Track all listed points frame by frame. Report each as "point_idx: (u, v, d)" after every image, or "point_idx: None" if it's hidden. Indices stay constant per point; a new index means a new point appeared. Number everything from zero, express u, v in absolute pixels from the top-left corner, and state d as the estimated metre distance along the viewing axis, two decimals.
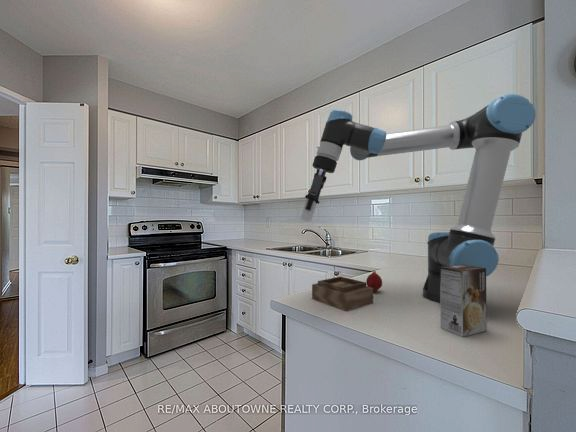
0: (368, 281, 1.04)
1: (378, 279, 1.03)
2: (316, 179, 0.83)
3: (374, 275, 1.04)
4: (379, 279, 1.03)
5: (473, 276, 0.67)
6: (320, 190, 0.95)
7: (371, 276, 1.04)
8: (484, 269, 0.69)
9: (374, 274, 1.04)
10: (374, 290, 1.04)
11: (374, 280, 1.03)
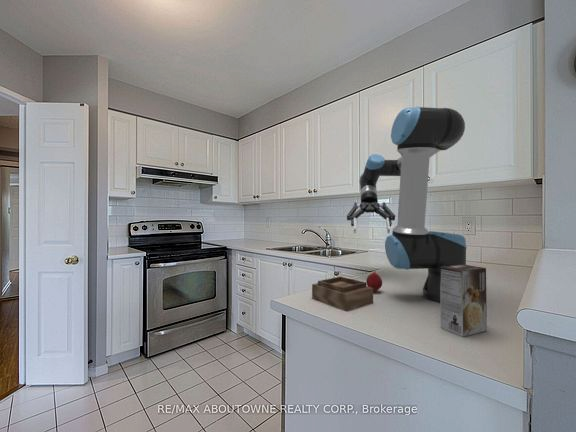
0: (368, 281, 1.04)
1: (378, 279, 1.03)
2: None
3: (374, 275, 1.04)
4: (379, 279, 1.03)
5: (473, 276, 0.67)
6: (381, 210, 1.21)
7: (371, 276, 1.04)
8: (484, 269, 0.69)
9: (374, 274, 1.04)
10: (374, 290, 1.04)
11: (374, 280, 1.03)
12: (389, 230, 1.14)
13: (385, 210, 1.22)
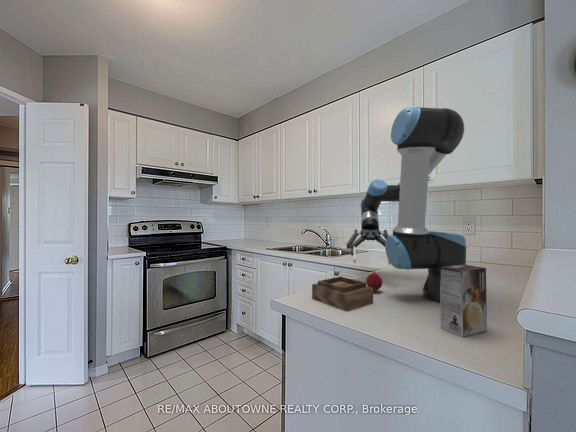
0: (368, 281, 1.04)
1: (378, 279, 1.03)
2: None
3: (374, 275, 1.04)
4: (379, 279, 1.03)
5: (473, 276, 0.67)
6: (382, 239, 1.17)
7: (371, 276, 1.04)
8: (484, 269, 0.69)
9: (374, 274, 1.04)
10: (374, 290, 1.04)
11: (374, 280, 1.03)
12: (390, 261, 1.09)
13: (386, 238, 1.18)
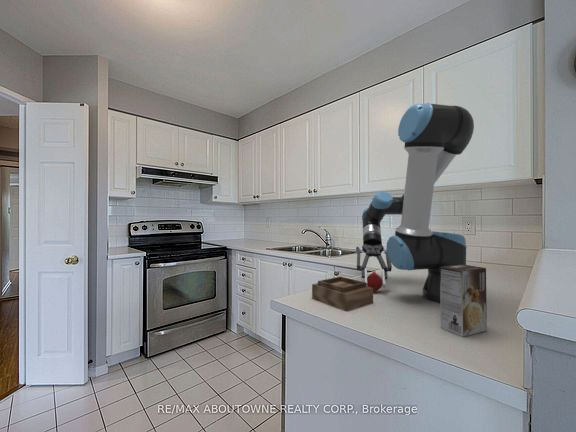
0: (368, 281, 1.04)
1: (378, 279, 1.03)
2: None
3: (374, 275, 1.04)
4: (379, 279, 1.03)
5: (473, 276, 0.67)
6: (381, 257, 1.08)
7: (371, 276, 1.04)
8: (484, 269, 0.69)
9: (374, 274, 1.04)
10: (374, 290, 1.04)
11: (374, 280, 1.03)
12: (384, 285, 1.01)
13: (386, 257, 1.10)
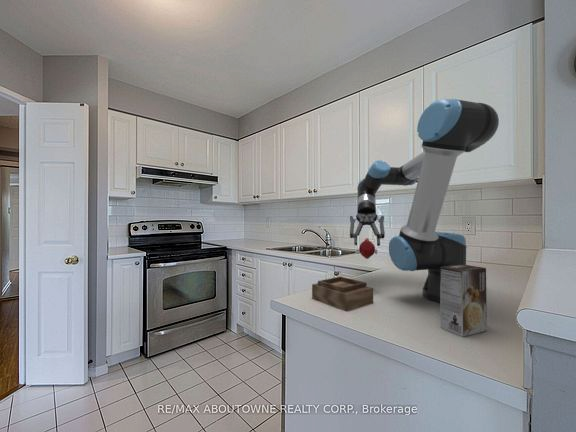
0: (361, 248, 1.04)
1: (370, 245, 1.03)
2: None
3: (367, 241, 1.04)
4: (371, 245, 1.03)
5: (473, 276, 0.67)
6: (374, 225, 1.08)
7: (363, 243, 1.04)
8: (484, 269, 0.69)
9: (366, 241, 1.04)
10: (367, 257, 1.04)
11: (366, 246, 1.03)
12: (376, 251, 1.00)
13: (380, 225, 1.09)
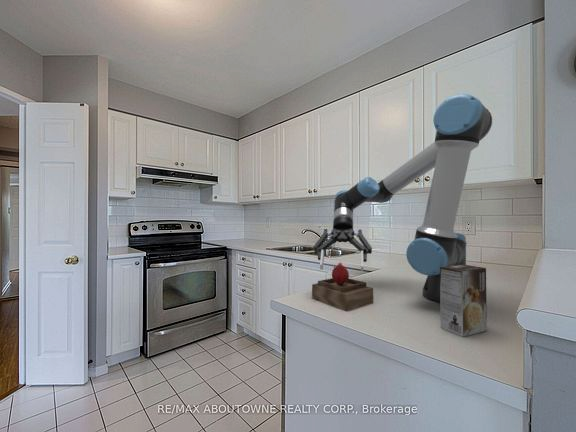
0: (333, 273, 0.94)
1: (344, 271, 0.93)
2: None
3: (340, 266, 0.94)
4: (345, 271, 0.93)
5: (473, 276, 0.67)
6: (355, 240, 0.98)
7: (336, 268, 0.94)
8: (484, 269, 0.69)
9: (339, 266, 0.94)
10: (340, 283, 0.94)
11: (339, 272, 0.93)
12: None
13: (361, 240, 0.99)
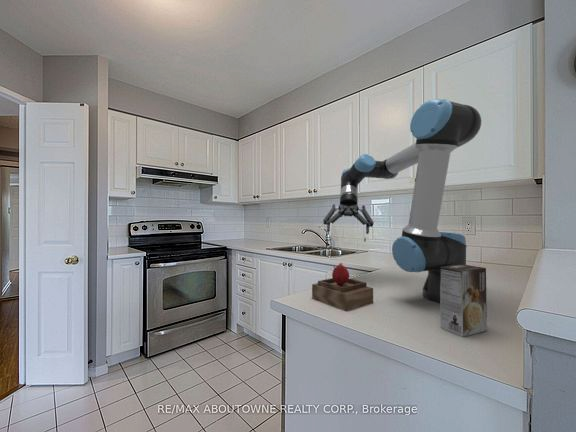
0: (333, 274, 0.94)
1: (344, 271, 0.93)
2: None
3: (340, 267, 0.94)
4: (345, 272, 0.93)
5: (473, 276, 0.67)
6: (359, 215, 1.14)
7: (337, 268, 0.94)
8: (484, 269, 0.69)
9: (340, 267, 0.94)
10: (340, 284, 0.94)
11: (340, 273, 0.92)
12: (365, 239, 1.08)
13: (364, 214, 1.16)
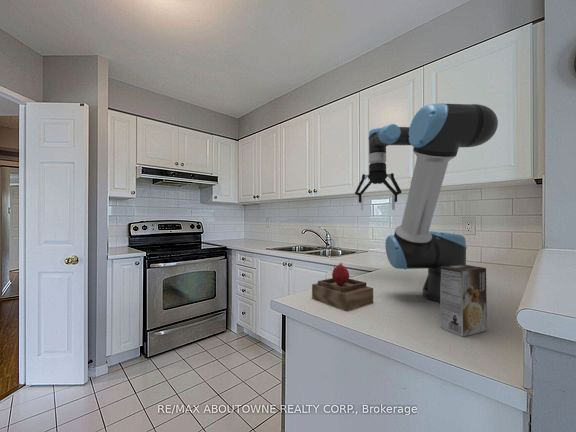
0: (333, 274, 0.94)
1: (344, 271, 0.93)
2: (360, 182, 1.28)
3: (340, 267, 0.94)
4: (345, 272, 0.93)
5: (473, 276, 0.67)
6: (388, 185, 1.24)
7: (337, 268, 0.94)
8: (484, 269, 0.69)
9: (340, 267, 0.94)
10: (340, 284, 0.94)
11: (340, 273, 0.92)
12: (394, 209, 1.24)
13: (392, 182, 1.25)
